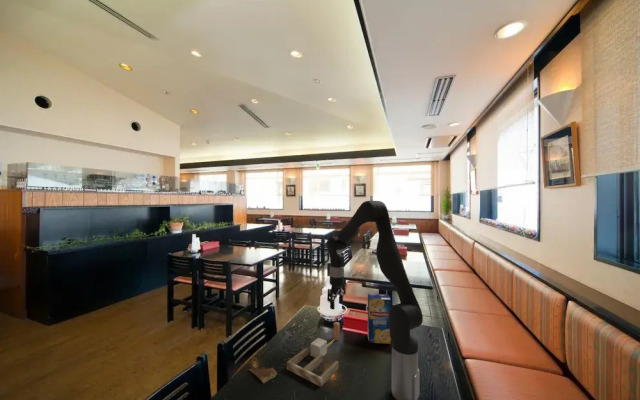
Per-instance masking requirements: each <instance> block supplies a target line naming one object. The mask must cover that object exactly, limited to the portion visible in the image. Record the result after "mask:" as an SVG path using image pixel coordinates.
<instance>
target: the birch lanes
mask: <svg viewBox="0 0 640 400" xmlns="http://www.w3.org/2000/svg"><path fill="white" fill-rule="evenodd" d="M307 356H309V347H305V348H303V349H302V350H301V351H300V352H298V353H297V354H296V355H294V356H293V357H292V358H290V359H288V361H286V370H287V371H290V372H291V373H293V374H295V375H297V376H299V377H301V378H303V379H305V380H307V381H308V382H311V383H313V384H314V385H317V386H318V387H320V388H322V387H323V385H324V384H325V383H327V382H328V380H329V379H330V378H331V377H332V376H333V375H334V374H335V373H336V372H337V371H338V370H339V365H340V364H339V361H338V360H335V361H334V362H333V363H332V364H331V365H330V366H329V367H328V368H327V369H326V370H325V371H323V373H322V374H321V375H318V374H316V373H314V372H313V371H315V369H316V368H317V367H319V366H320V365H321V364H322V363H323V361H324V358H323V357H324V356H323V355H322V354H320V355H318V356H317V357H316V358H315V357H314V359H312V360H311V361H310V362H309V363H308V364H307V365H306V366H304V367H302V366H300V365H298V364H299V363H300V362H301V361H303V360H304V358H306V357H307Z"/></svg>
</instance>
